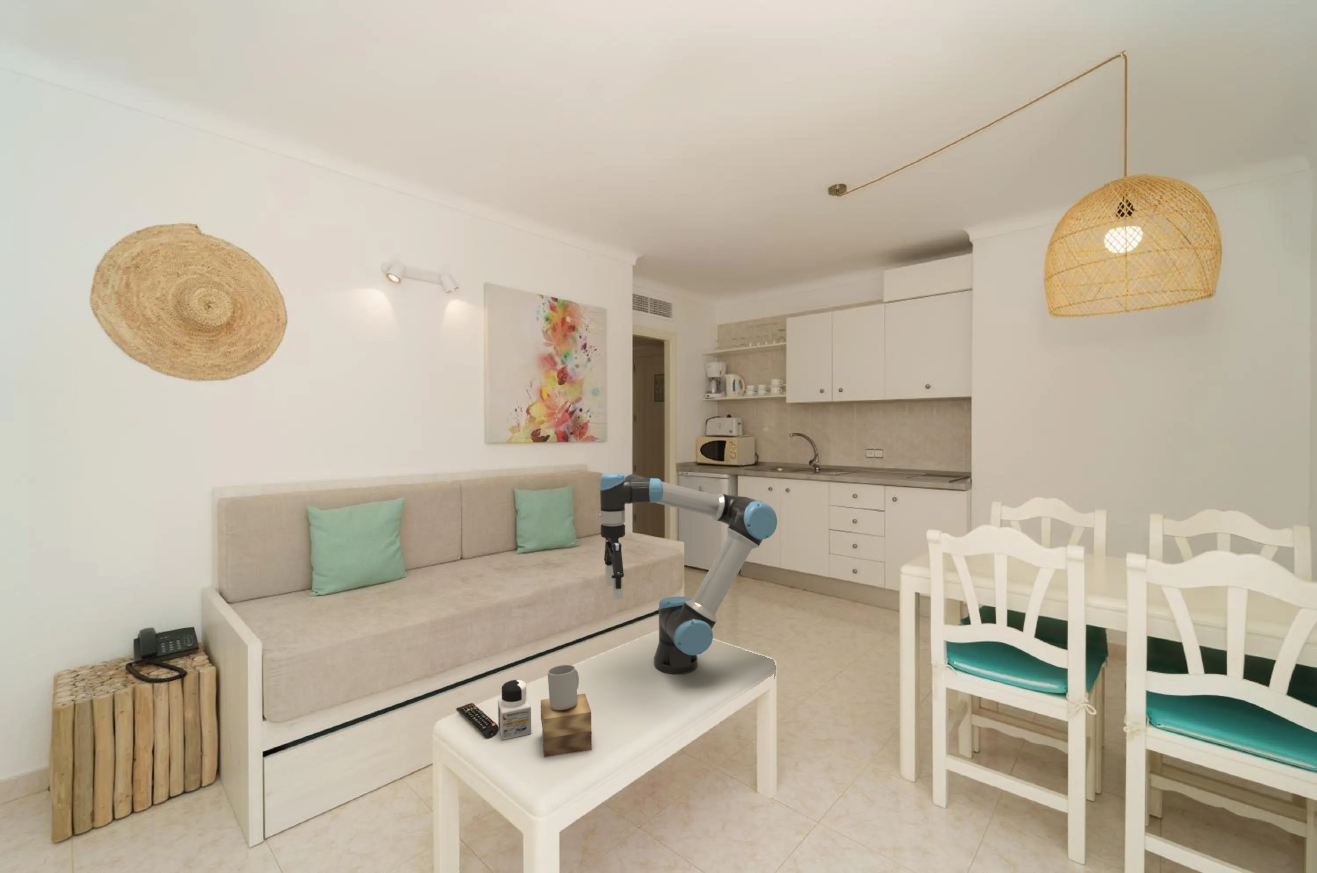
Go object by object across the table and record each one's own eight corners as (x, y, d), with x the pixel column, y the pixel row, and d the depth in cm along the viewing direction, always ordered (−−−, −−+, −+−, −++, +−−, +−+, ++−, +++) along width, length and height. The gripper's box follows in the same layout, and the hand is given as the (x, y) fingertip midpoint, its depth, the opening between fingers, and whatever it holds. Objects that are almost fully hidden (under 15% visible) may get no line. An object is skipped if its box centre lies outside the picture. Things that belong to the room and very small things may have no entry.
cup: (544, 708, 144) (541, 673, 145) (568, 692, 153) (565, 660, 154) (566, 712, 141) (563, 676, 141) (589, 696, 150) (587, 662, 150)
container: (502, 740, 147) (501, 692, 147) (498, 726, 154) (497, 680, 154) (531, 734, 150) (530, 686, 150) (526, 720, 157) (525, 674, 157)
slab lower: (587, 729, 153) (586, 711, 152) (591, 750, 143) (591, 731, 143) (542, 735, 150) (542, 717, 150) (544, 757, 140) (543, 738, 140)
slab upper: (585, 711, 153) (585, 693, 152) (591, 731, 143) (591, 711, 143) (540, 718, 149) (540, 699, 149) (543, 738, 140) (543, 719, 139)
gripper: (594, 517, 182) (595, 581, 183) (607, 532, 158) (608, 606, 159) (617, 516, 184) (618, 579, 185) (633, 530, 160) (634, 603, 161)
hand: (613, 592), depth 172 cm, fingers open, 13 cm apart
